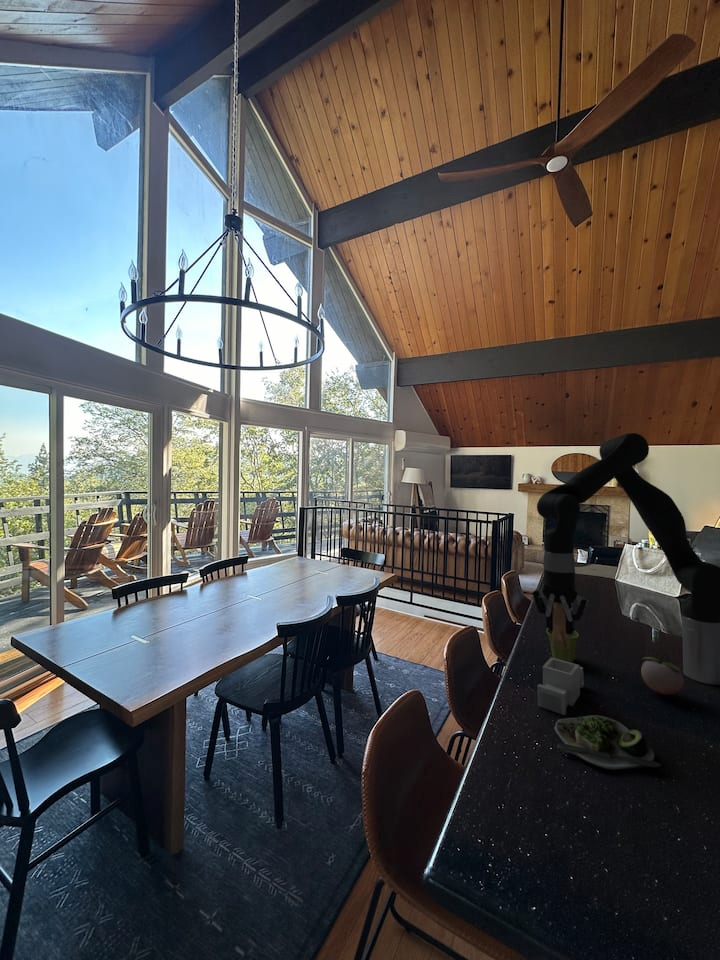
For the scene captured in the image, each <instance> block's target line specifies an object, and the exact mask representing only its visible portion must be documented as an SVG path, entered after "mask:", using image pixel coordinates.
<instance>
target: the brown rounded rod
mask: <svg viewBox="0 0 720 960" xmlns="http://www.w3.org/2000/svg"><path fill="white" fill-rule="evenodd" d="M567 620H568V619H567V616H566V613H565V611H564V608H563V604H562V603H561V602H555V601H554V602H553V606H552V645H553V646H554V647H556V648H560V649H567V648H569V635H567Z"/></svg>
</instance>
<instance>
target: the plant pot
mask: <svg viewBox="0 0 720 960" xmlns="http://www.w3.org/2000/svg"><path fill="white" fill-rule="evenodd" d="M545 632H546V634H547V635H548V638H549V643H550V649H551V656H552V658H555V659H559V660H563V661H566V662H570V663H573V662H574V661H575V655H576V653H575V652H576V646H577V645H576V644H577V641H578V638H579V637H580V634H579V633H578V632H577V631H576V630H575V631H574V632H573V633H572V634H571V635H569V648H567V649H560V648H556V647H554V646H553V645H552V631H549V628H546V631H545Z"/></svg>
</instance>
